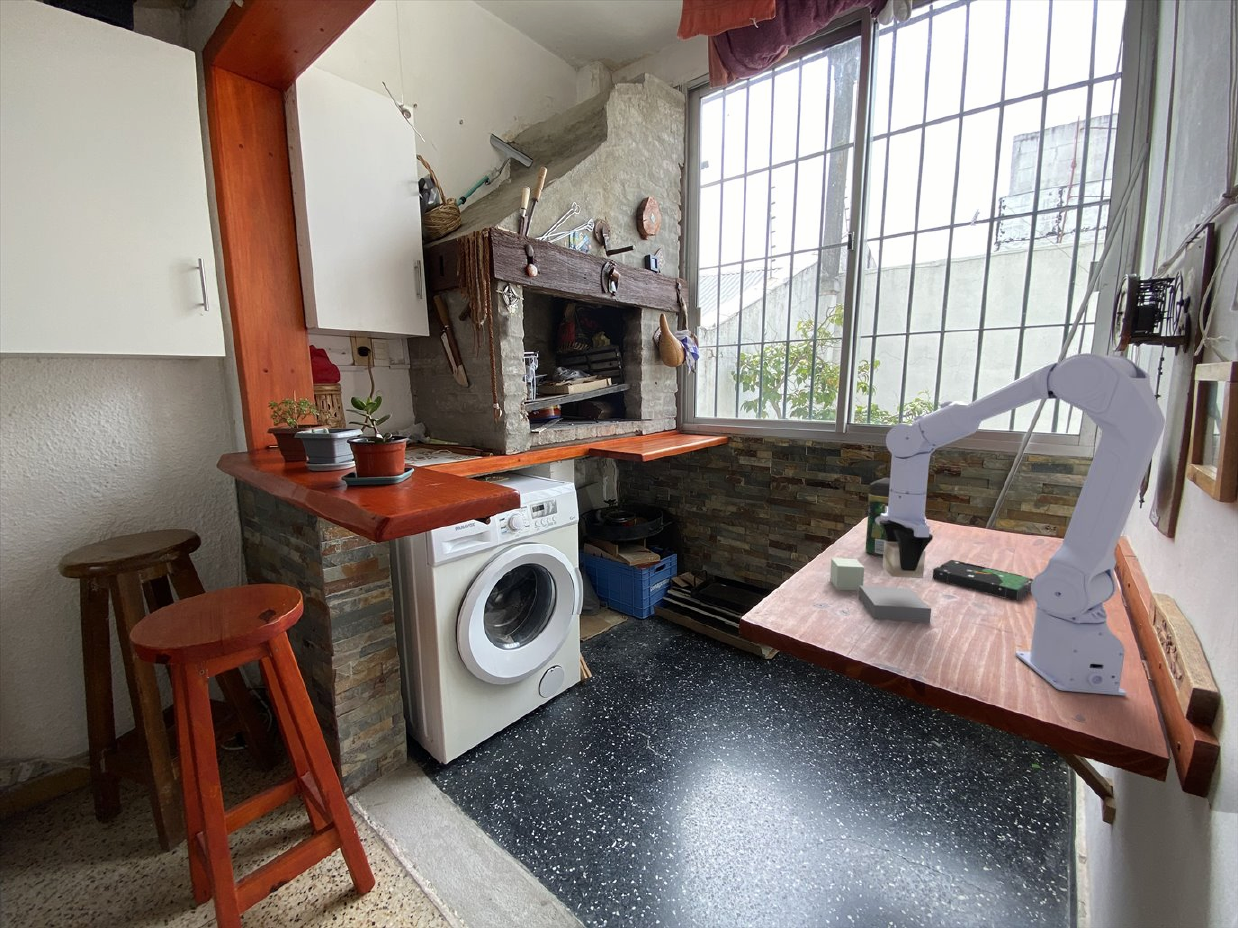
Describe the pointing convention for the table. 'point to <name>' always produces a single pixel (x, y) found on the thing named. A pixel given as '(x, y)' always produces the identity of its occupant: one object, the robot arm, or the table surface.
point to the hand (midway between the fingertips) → (901, 564)
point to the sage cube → (846, 573)
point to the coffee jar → (877, 516)
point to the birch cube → (893, 562)
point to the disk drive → (983, 579)
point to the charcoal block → (894, 604)
